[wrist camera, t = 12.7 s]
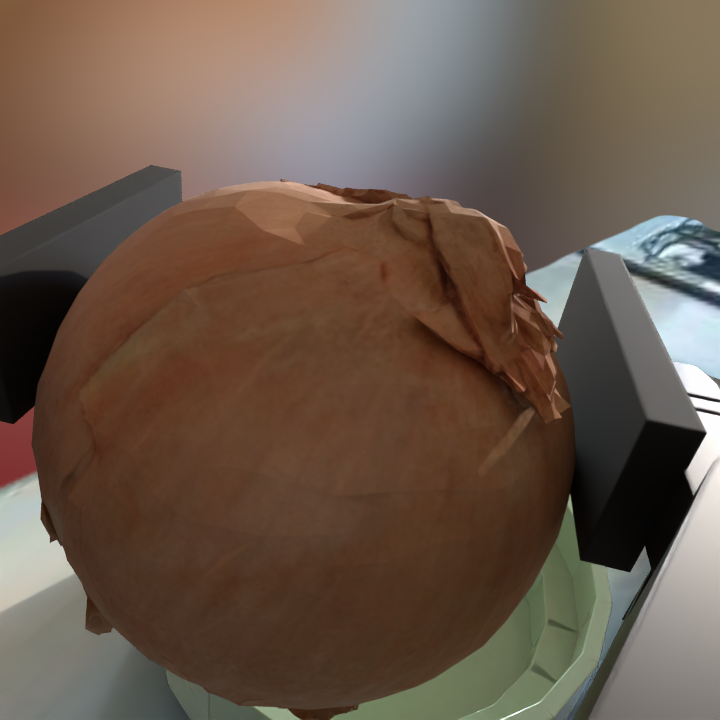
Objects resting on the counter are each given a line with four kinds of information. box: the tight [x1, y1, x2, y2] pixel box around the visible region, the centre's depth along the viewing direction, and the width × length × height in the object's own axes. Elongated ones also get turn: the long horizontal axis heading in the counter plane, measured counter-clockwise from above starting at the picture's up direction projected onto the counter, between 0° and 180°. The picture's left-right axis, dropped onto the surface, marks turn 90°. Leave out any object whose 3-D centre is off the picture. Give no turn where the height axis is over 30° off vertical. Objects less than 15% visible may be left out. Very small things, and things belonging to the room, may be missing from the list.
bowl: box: [165, 496, 612, 720], centre depth 26 cm, size 18×18×5 cm
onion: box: [32, 179, 576, 720], centre depth 12 cm, size 10×9×10 cm
